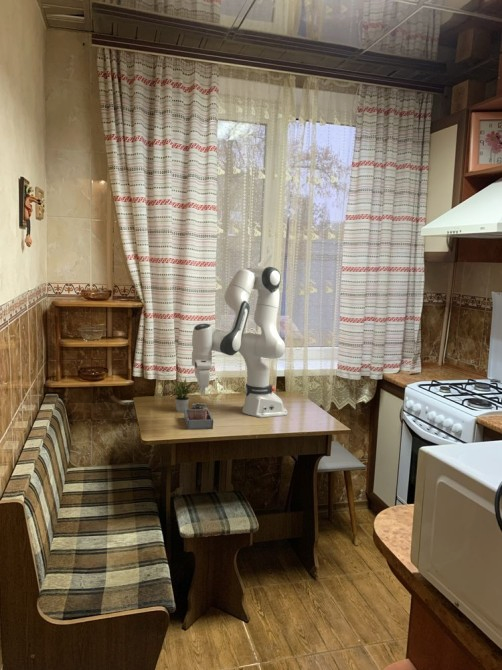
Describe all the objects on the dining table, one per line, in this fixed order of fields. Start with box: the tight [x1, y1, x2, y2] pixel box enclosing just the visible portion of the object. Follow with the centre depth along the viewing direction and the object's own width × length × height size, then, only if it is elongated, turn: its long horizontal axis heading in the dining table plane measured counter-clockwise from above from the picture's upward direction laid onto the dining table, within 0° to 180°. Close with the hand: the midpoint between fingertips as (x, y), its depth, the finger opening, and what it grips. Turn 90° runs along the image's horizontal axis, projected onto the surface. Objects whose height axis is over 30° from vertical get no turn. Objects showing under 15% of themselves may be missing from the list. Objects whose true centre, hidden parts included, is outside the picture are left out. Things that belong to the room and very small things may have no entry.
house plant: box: [170, 377, 198, 413], centre depth 254 cm, size 14×14×16 cm
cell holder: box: [183, 408, 214, 431], centre depth 239 cm, size 11×16×4 cm
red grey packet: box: [188, 402, 208, 420], centre depth 235 cm, size 8×3×10 cm, turn 107°
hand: (201, 390), depth 234 cm, fingers open, 8 cm apart
